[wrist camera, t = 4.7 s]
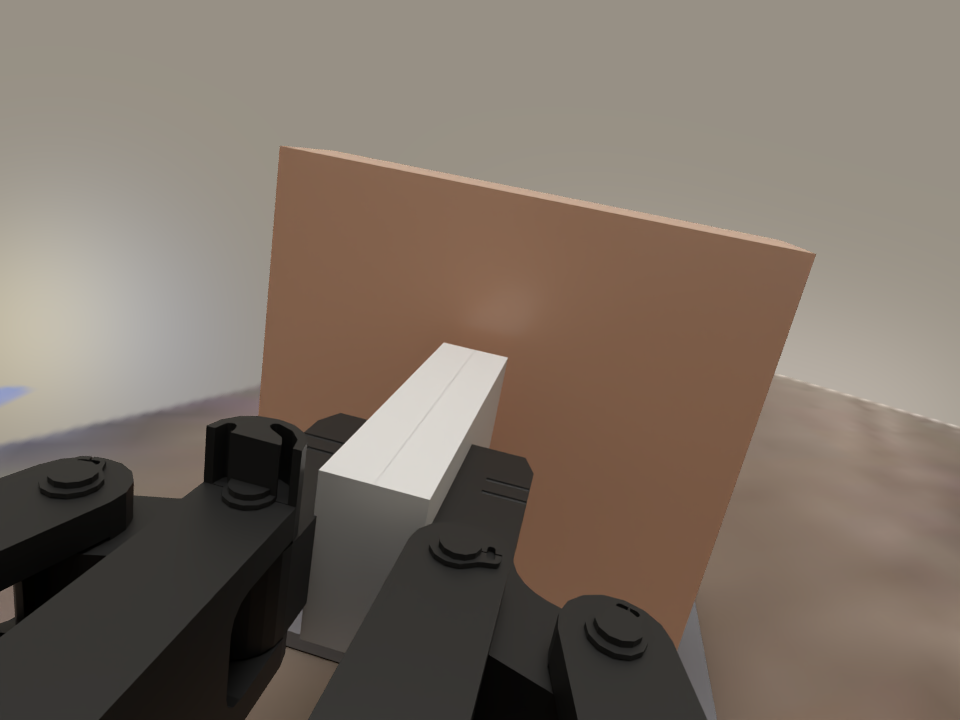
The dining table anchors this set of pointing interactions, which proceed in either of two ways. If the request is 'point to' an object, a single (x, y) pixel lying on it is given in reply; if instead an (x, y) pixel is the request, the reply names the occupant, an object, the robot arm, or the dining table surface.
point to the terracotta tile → (541, 351)
